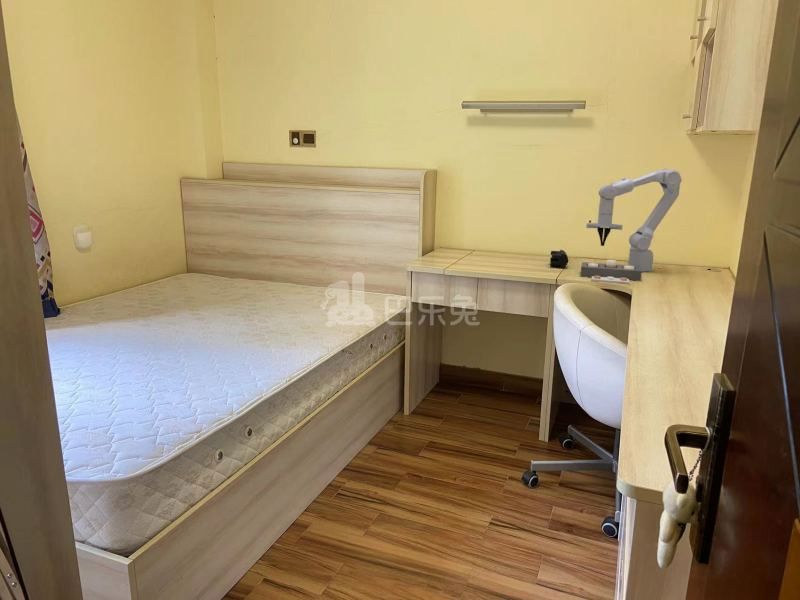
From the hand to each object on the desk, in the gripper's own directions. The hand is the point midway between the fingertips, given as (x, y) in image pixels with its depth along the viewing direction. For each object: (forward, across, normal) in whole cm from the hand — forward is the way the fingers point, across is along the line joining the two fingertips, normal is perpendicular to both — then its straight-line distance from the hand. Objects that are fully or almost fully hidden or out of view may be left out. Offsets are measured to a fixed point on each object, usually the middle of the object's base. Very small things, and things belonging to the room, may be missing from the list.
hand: (602, 245), depth 261 cm
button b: (+8, -4, +13) cm, 15 cm away
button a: (+10, -11, +13) cm, 19 cm away
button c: (+10, +3, +13) cm, 16 cm away
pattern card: (+10, -4, +23) cm, 25 cm away
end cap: (+11, +17, 0) cm, 20 cm away
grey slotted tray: (+10, -4, +13) cm, 17 cm away
